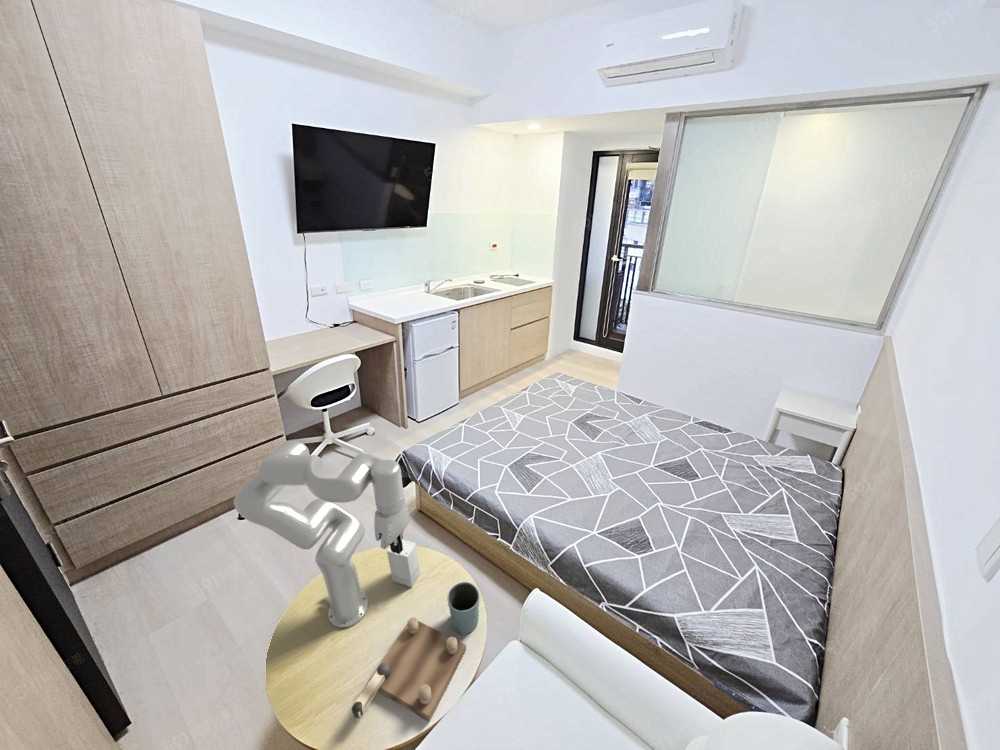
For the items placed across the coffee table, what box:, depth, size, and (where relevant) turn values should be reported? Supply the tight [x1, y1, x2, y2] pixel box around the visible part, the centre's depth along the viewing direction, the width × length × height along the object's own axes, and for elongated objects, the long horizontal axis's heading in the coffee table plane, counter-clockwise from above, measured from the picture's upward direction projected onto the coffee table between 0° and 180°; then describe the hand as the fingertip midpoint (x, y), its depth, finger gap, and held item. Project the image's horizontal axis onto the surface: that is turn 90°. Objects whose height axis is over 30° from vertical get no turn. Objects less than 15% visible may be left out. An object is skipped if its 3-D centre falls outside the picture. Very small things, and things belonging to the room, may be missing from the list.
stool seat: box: [368, 617, 467, 723], centre depth 117 cm, size 20×20×6 cm
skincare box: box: [386, 539, 421, 588], centre depth 142 cm, size 8×7×16 cm
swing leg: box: [350, 662, 390, 719], centre depth 109 cm, size 13×3×3 cm, turn 155°
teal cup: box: [446, 581, 480, 634], centre depth 129 cm, size 10×10×12 cm
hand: (396, 550), depth 118 cm, fingers closed
